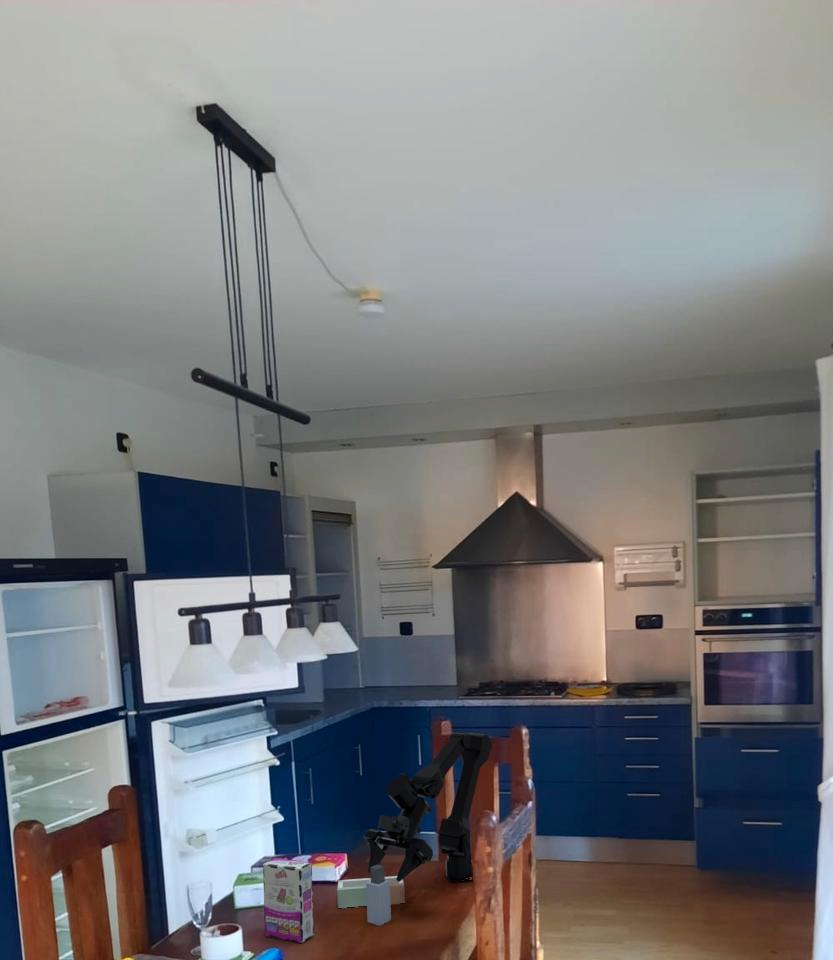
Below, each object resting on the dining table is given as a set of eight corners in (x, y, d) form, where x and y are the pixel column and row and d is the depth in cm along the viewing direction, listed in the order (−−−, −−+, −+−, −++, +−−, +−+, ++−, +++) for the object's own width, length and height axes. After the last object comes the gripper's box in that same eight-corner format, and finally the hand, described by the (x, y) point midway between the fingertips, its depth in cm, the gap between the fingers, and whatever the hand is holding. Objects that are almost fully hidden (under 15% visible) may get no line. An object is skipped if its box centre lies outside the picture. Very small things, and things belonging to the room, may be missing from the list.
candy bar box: (315, 935, 194) (313, 862, 196) (302, 944, 190) (300, 869, 192) (276, 928, 199) (274, 856, 201) (263, 936, 195) (261, 863, 197)
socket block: (338, 894, 219) (338, 876, 219) (402, 889, 220) (402, 871, 221) (338, 908, 209) (337, 890, 210) (404, 903, 210) (404, 885, 211)
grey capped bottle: (378, 916, 203) (376, 863, 205) (391, 920, 201) (388, 865, 202) (367, 922, 200) (365, 867, 202) (380, 925, 198) (377, 870, 199)
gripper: (367, 796, 215) (338, 852, 205) (424, 806, 204) (396, 866, 194) (388, 820, 220) (361, 876, 210) (444, 831, 209) (419, 891, 199)
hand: (383, 877), depth 203 cm, fingers open, 9 cm apart
